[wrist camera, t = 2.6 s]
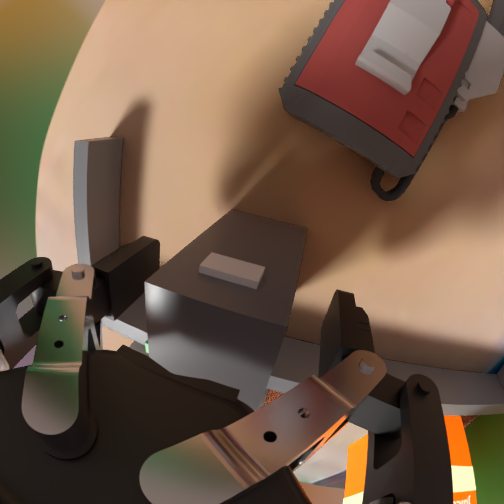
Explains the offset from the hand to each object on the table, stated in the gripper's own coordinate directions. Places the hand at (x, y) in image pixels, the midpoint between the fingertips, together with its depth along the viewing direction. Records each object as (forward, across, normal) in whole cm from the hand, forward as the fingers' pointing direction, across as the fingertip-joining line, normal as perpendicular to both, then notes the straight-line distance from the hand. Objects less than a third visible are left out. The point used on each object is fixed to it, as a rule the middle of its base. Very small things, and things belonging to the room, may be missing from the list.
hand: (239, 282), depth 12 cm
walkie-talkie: (+4, -6, -15) cm, 16 cm away
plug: (+4, 0, 0) cm, 4 cm away
